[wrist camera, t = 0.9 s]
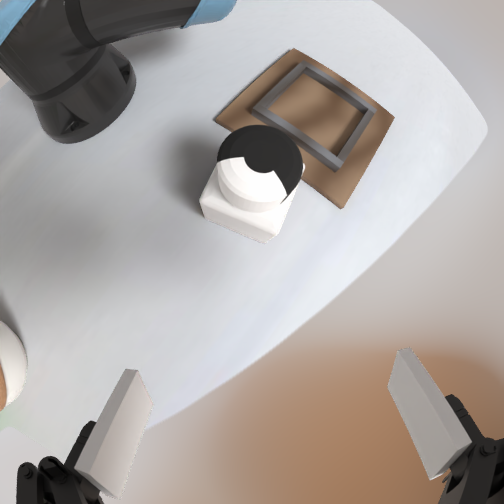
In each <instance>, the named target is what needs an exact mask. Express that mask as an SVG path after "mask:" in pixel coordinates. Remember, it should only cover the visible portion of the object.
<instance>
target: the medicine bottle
mask: <svg viewBox="0 0 504 504" xmlns="http://www.w3.org/2000/svg"><path fill="white" fill-rule="evenodd" d="M304 169H305V164H304V163H303V159H302V155H301V152H300V150H299V148H298V146H297V145H296V143H295V142H294V141H293V140H292V139H291V138H290V137H289V136H288V135H287V134H285V133H284V132H283V131H281V130H279V129H277V128H274V127H271V126H267V125H249V126H244V127H242V128H239V129H237V130H235V131H234V132H232V133H231V134H230V135H229V136H228V137H227V138H226V139H225V140H224V141H223V143H222V145H221V146H220V149H219V152H218V157H217V164H216V166H215V168H214V170H213V172H212V174H211V176H210V178H209V180H208V182H207V184H206V186H205V188H204V190H203V192H202V194H201V197H200V199H199V202H200V205H201V208H202V211H203V214H204V217H205V219H207V220H209V221H211V222H213V223H216V224H218V225H220V226H223V227H225V228H227V229H230V230H232V231H234V232H237V233H239V234H241V235H244V236H246V237H248V238H251V239H253V240H255V241H258V242H260V243H262V244H265V243H267V242H268V241H270V240H271V239H272V238H274V237H275V236H276V235H278V233H279V231H280V229H281V227H282V224H283V222H284V219H285V217H286V214H287V212H288V209H289V207H290V204H291V202H292V199H293V197H294V194H295V192H296V189H297V187H298V184H299V182H300V179H301V177H302V174H303V172H304Z"/></svg>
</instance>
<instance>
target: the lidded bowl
mask: <svg viewBox="0 0 504 504" xmlns="http://www.w3.org/2000/svg"><path fill="white" fill-rule="evenodd" d="M26 373H27V356H26V352H25V349H24V347H23V344H22V342H21V341H20V339H19V338H18V336H17V335H16V334H15V333H14V332H13V331H12V330H11V329H10V328H9V327H8V326H7V325H6V324H5V323H3V322H2V321H1V320H0V411H1V410H2V409H3V408H4V407H6V406H7V405H9V404H10V403H12V402H13V401H14V400H15V399H16V398H17V397H18V396H19V394H20V393H21V391H22V389H23V387H24V385H25V381H26Z"/></svg>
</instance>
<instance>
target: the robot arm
mask: <svg viewBox="0 0 504 504" xmlns="http://www.w3.org/2000/svg"><path fill="white" fill-rule="evenodd" d="M236 1H237V0H2V1H1V2H0V68H1V69H2V70H3V71H4V72H5V73H6V74H7V75H8V76H9V78H10V79H11V80H12V81H13V82H14V83H15V84H16V85H17V86H18V87H19V88H20V89H21V90H22V91H23V92H25V93H26V94H27V95H28V96H29V98H30V99H31V100H32V101H33V104H34V107H35V110H36V113H37V115H38V118H39V121H40V123H41V126H42V128H43V129H44V131H45V132H46V133H47V134H48V135H49V136H50V137H52V138H53V139H54V140H55V141H57V142H60V143H66V144H69V143H77V142H80V141H83V140H86V139H88V138H90V137H92V136H94V135H96V134H98V133H99V132H101V131H102V130H104V129H105V128H106V127H108V126H109V125H110V124H111V123H112V122H113V121H114V120H116V118H117V117H118V116H119V115H120V114H121V113H122V112H123V111H124V109H125V108H126V107H127V105H128V104H129V102H130V100H131V98H132V96H133V94H134V91H135V87H136V76H135V73H134V70H133V68H132V65H131V63H130V62H129V60H128V59H127V58H126V57H125V56H124V55H122V54H121V53H120V52H119V51H118V50H117V49H115V48H114V47H113V46H112V45H111V44H109V43H112V42H115V41H119V40H122V39H126V38H130V37H134V36H138V35H142V34H146V33H151V32H155V31H161V30H166V29H172V28H178V27H180V29H183V28H187V27H189V26H191V25H197V24H204V23H212V22H217V21H219V20H222V19H223V18H225V17H226V16H227V15H228V14H229V13H230V12H231V11H232V9H233V7H234V5H235V3H236ZM388 390H389V392H390V394H391V396H392V398H393V400H394V402H395V404H396V406H397V408H398V410H399V412H400V414H401V416H402V418H403V420H404V422H405V425H406V427H407V429H408V431H409V433H410V435H411V437H412V440H413V442H414V444H415V446H416V449H417V451H418V453H419V455H420V458H421V460H422V463H423V465H424V467H425V470H426V472H427V474H428V477H429V479H430V480H431V479H434V478H436V477H438V476H440V475H442V474H444V473H445V472H446V471H447V470H448V468H450V470H451V472H450V473H449V474H448V475H447V476H446V477H445V478H444V480H443V481H442V482H443V483H444V482H445V481H446V480H447V479H448V480H447V483H446V485H445V488H444V491H443V493H442V496H441V498H440V500H439V503H438V504H504V438H503V439H500V440H494V439H491V438H485V437H484V436H483V435H482V434H481V432H480V430H479V429H478V427H477V426H476V424H475V422H474V421H473V419H472V418H471V416H470V415H468V412H467V410H466V409H465V408H464V406H463V404H462V403H461V401H460V400H459V399H458V398H457V397H455V396H454V395H452V394H451V395H448V396H446V397H444V396H443V394H442V393H441V391H440V390H439V388H438V387H437V385H436V384H435V382H434V381H433V379H432V378H431V376H430V375H429V373H428V372H427V370H426V369H425V368H424V366H423V365H422V363H421V362H420V360H419V359H418V358H417V356H416V355H415V354H414V352H413V351H412V349H411V348H410V347H409V348H405V349H401V350H398V351H397V355H396V359H395V363H394V367H393V370H392V373H391V377H390V380H389V383H388ZM153 405H154V404H153V402H152V400H151V398H150V396H149V393H148V391H147V389H146V387H145V385H144V383H143V380H142V378H141V376H140V374H139V371H138V370H131V369H125V371H124V372H123V374H122V376H121V378H120V380H119V381H118V383H117V385H116V387H115V389H114V391H113V392H112V394H111V396H110V398H109V400H108V402H107V403H106V405H105V407H104V409H103V411H102V413H101V415H100V417H99V419H98V421H97V422H94V421H89V422H88V423H87V424H86V425H85V426H84V427H83V429H82V430H81V432H80V434H79V436H78V438H77V440H76V443H75V444H74V446H73V448H72V450H71V451H70V453H69V455H68V457H67V459H66V461H65V463H64V465H63V464H62V463H61V462H60V461H59V460H58V459H57V458H56V457H53V456H47V457H45V458H43V459H42V460H41V461H40V463H39V465H38V468H37V467H36V466H34V465H33V464H32V463H29V462H25V463H23V464H21V465H20V467H19V468H18V473H17V495H16V500H17V502H16V504H104V503H103V501H102V498H101V497H100V496H99V492H100V491H101V492H103V493H104V494H105V495H107V496H110V497H112V498H115V499H119V500H121V497H122V494H123V491H124V488H125V485H126V481H127V478H128V476H129V473H130V470H131V467H132V463H133V460H134V458H135V455H136V452H137V449H138V447H139V444H140V441H141V438H142V435H143V433H144V430H145V427H146V424H147V422H148V419H149V416H150V413H151V411H152V408H153Z"/></svg>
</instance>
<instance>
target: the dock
mask: <svg viewBox="0 0 504 504" xmlns="http://www.w3.org/2000/svg"><path fill="white" fill-rule="evenodd" d="M394 118H395V117H394V116H393V115H391V114H390V113H389V112H388V111H387V110H386V109H384V108H383V107H382V106H381V105H379V104H378V103H377V102H376V101H374V100H373V99H372V98H370V97H369V96H368V95H366V94H365V93H364V92H362V91H361V90H360V89H358V88H357V87H356V86H354V85H353V84H351V83H350V82H348V81H347V80H346V79H344V78H343V77H341V76H340V75H338V74H337V73H335V72H333V71H332V70H330V69H329V68H327V67H326V66H324V65H322V64H321V63H319V62H317V61H316V60H314V59H312V58H311V57H309V56H307V55H305V54H304V53H302V52H300V51H298V50H296V49H294V48H293V49H292V50H291V51H289V52H288V53H287V54H286V55H284V56H283V57H282V58H281V59H280V60H278V61H277V62H276V63H275V64H274V65H272V66H271V67H270V68H269V69H268V70H267V71H265V72H264V73H263V74H262V75H261V76H260V77H259V78H258V79H256V80H255V81H254V82H253V83H252V84H251V85H250V86H249V87H248V88H247V89H246V90H244V91H243V92H242V93H241V94H240V95H239V96H238V97H237V98H236V99H235V100H234V101H233V102H232V103H231V104H230V105H229V106H228V107H227V108H226V109H225V110H224V111H223V112H222V113H221V114H220V115H219V116H218V117H217V118H216V123H218V124H220V125H221V126H223V127H224V128H226V129H228V130H229V131H231V132H234V131H235V130H237V129H239V128H242V127H244V126H249V125H267V126H271V127H274V128H277V129H279V130H281V131H283V132H284V133H285V134H287V135H288V136H289V137H290V138H291V139H292V140H293V141H294V142H295V143H296V145H297V146H298V148H299V150H300V152H301V155H302V159H303V163H304V164H305V169H304V172H303V174H302V177H301V179H302V180H303V181H304V182H306V183H307V184H309V185H310V186H311V187H313V188H314V189H315V190H316V191H318V192H319V193H320V194H322V195H323V196H324V197H326V198H327V199H328V200H329V201H331V202H332V203H333V204H335V205H336V206H337V207H338V208H340V209H342V208H343V207H344V206H345V204H346V202H347V201H348V199H349V197H350V196H351V194H352V193H353V191H354V189H355V187H356V186H357V184H358V182H359V181H360V179H361V177H362V176H363V174H364V172H365V170H366V169H367V167H368V165H369V163H370V162H371V160H372V158H373V156H374V155H375V153H376V151H377V149H378V147H379V146H380V144H381V142H382V140H383V138H384V137H385V135H386V133H387V131H388V129H389V127H390V125H391V124H392V122H393V120H394Z"/></svg>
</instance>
